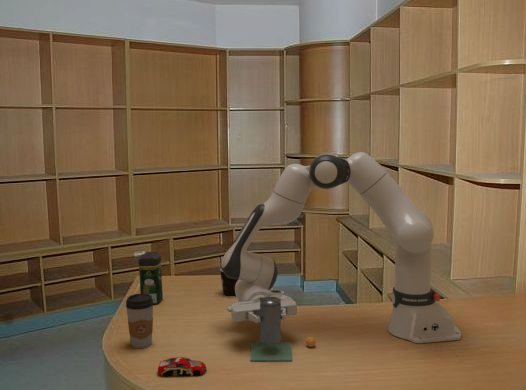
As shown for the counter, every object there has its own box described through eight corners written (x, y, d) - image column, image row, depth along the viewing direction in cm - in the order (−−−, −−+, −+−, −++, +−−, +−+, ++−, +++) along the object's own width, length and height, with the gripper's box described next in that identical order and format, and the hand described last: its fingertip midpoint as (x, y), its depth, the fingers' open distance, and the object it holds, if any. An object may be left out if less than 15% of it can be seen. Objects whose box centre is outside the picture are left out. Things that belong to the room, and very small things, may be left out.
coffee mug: (239, 298, 208) (239, 273, 206) (217, 297, 210) (217, 272, 208) (246, 288, 219) (246, 264, 218) (225, 287, 221) (225, 263, 219)
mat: (290, 343, 168) (290, 342, 168) (292, 361, 156) (292, 359, 156) (251, 343, 168) (251, 342, 168) (250, 361, 156) (250, 360, 156)
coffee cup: (128, 351, 163) (125, 303, 161) (127, 340, 171) (124, 294, 169) (156, 348, 166) (154, 300, 163) (154, 337, 173) (152, 291, 171)
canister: (280, 334, 164) (280, 296, 162) (280, 343, 158) (280, 304, 156) (260, 334, 164) (260, 296, 163) (259, 343, 159) (259, 303, 157)
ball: (315, 344, 167) (315, 335, 167) (316, 348, 164) (316, 339, 164) (305, 344, 167) (305, 335, 167) (306, 348, 164) (306, 339, 164)
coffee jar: (143, 296, 211) (141, 250, 208) (164, 296, 211) (162, 249, 208) (138, 305, 201) (135, 257, 198) (159, 305, 201) (157, 256, 198)
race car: (207, 368, 153) (207, 354, 153) (205, 377, 148) (205, 363, 147) (160, 368, 153) (159, 355, 152) (156, 378, 148) (156, 364, 147)
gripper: (225, 296, 169) (236, 312, 156) (287, 290, 175) (303, 304, 162) (225, 316, 170) (237, 333, 157) (287, 308, 176) (303, 325, 163)
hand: (271, 318), depth 160 cm, fingers closed on canister, 6 cm apart
